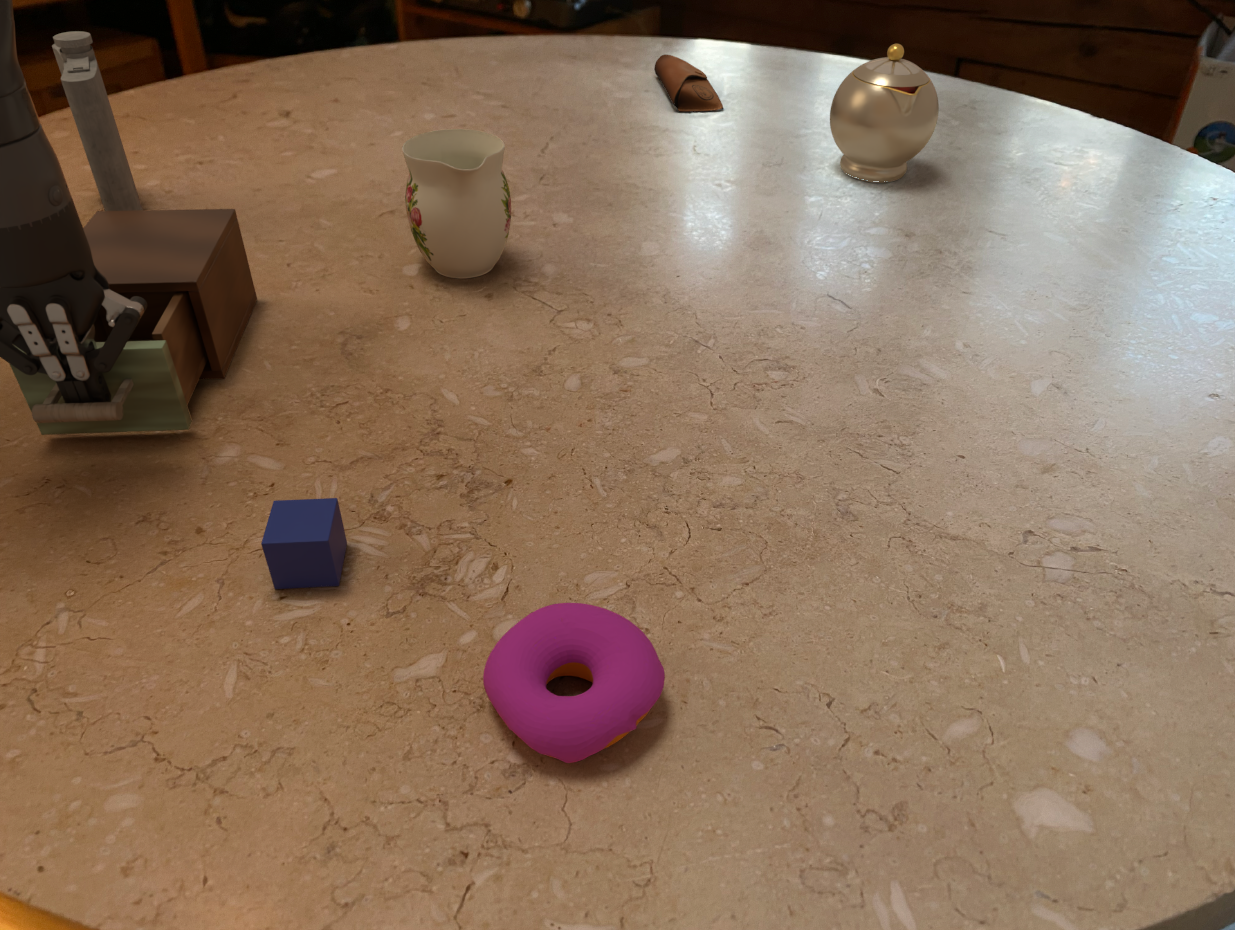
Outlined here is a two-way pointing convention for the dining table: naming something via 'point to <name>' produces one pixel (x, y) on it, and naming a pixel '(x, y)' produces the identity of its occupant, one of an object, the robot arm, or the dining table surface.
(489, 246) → the pitcher
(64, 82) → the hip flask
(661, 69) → the sunglasses case
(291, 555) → the navy blue cube
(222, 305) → the cabinet
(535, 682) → the donut
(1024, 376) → the dining table surface
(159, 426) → the compartment
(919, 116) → the teapot
